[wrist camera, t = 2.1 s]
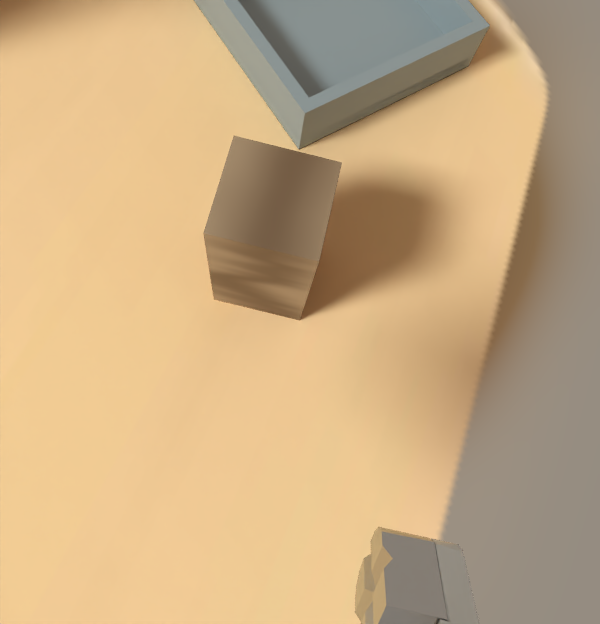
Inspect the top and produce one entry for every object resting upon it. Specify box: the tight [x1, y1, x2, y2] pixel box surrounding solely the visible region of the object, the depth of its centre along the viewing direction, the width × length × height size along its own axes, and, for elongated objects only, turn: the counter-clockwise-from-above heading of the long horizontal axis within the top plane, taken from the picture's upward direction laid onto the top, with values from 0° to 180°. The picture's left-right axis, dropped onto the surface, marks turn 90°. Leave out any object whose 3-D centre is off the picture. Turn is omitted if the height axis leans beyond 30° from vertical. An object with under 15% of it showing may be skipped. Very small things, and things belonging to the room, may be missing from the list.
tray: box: [194, 0, 490, 149], centre depth 36 cm, size 14×14×4 cm
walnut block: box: [204, 136, 342, 320], centre depth 28 cm, size 5×5×8 cm
